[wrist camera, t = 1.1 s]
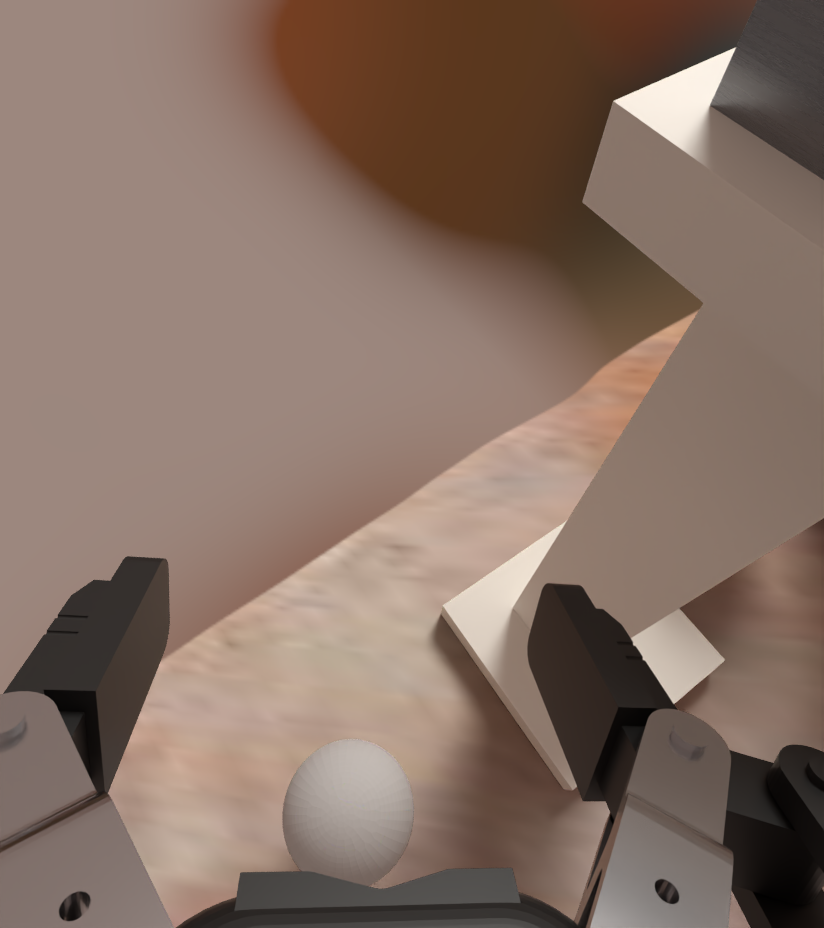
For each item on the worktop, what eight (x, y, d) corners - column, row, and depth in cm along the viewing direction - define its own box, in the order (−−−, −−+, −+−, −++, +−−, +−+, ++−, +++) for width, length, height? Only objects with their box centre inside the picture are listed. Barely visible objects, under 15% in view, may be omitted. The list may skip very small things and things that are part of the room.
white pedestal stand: (580, 517, 41) (962, -52, 13) (734, 694, 36) (1969, 376, 8) (440, 613, 38) (546, 130, 10) (587, 824, 32) (1802, 1121, 4)
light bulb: (309, 747, 34) (275, 737, 25) (410, 744, 34) (412, 732, 25) (303, 870, 31) (263, 906, 22) (414, 866, 31) (417, 900, 23)
